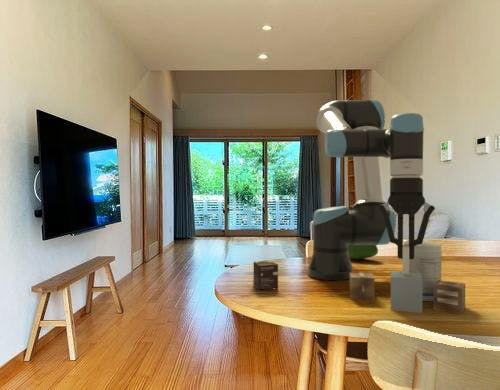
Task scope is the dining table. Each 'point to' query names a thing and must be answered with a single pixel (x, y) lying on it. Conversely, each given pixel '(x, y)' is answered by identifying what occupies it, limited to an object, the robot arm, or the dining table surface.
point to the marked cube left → (362, 286)
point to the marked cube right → (449, 296)
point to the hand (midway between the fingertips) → (405, 271)
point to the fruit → (362, 251)
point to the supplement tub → (427, 266)
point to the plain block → (406, 291)
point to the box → (265, 275)
